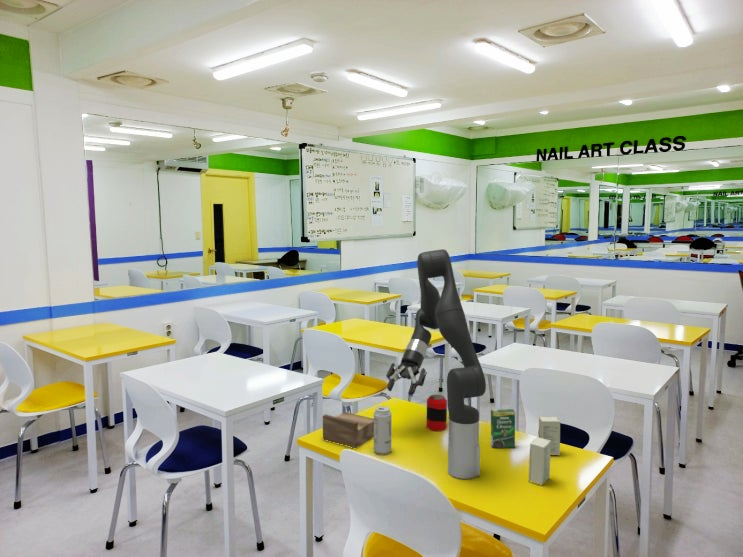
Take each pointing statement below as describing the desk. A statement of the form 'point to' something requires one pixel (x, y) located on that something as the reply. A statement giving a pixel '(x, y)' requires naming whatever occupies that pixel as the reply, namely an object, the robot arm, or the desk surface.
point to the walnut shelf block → (348, 429)
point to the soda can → (436, 413)
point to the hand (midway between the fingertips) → (399, 392)
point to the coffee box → (503, 428)
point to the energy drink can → (382, 430)
